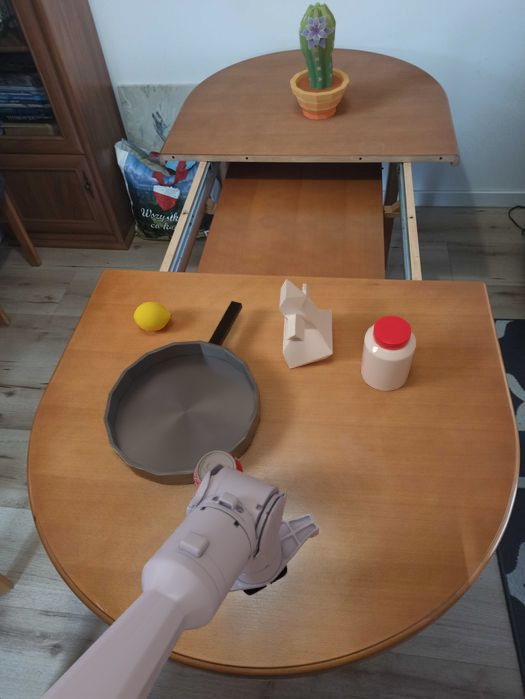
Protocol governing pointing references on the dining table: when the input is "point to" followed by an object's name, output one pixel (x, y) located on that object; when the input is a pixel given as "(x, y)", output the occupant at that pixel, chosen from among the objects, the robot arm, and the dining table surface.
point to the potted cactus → (318, 65)
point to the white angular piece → (304, 327)
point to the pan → (183, 406)
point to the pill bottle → (387, 353)
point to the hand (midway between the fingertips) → (261, 575)
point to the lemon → (151, 316)
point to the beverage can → (212, 460)
